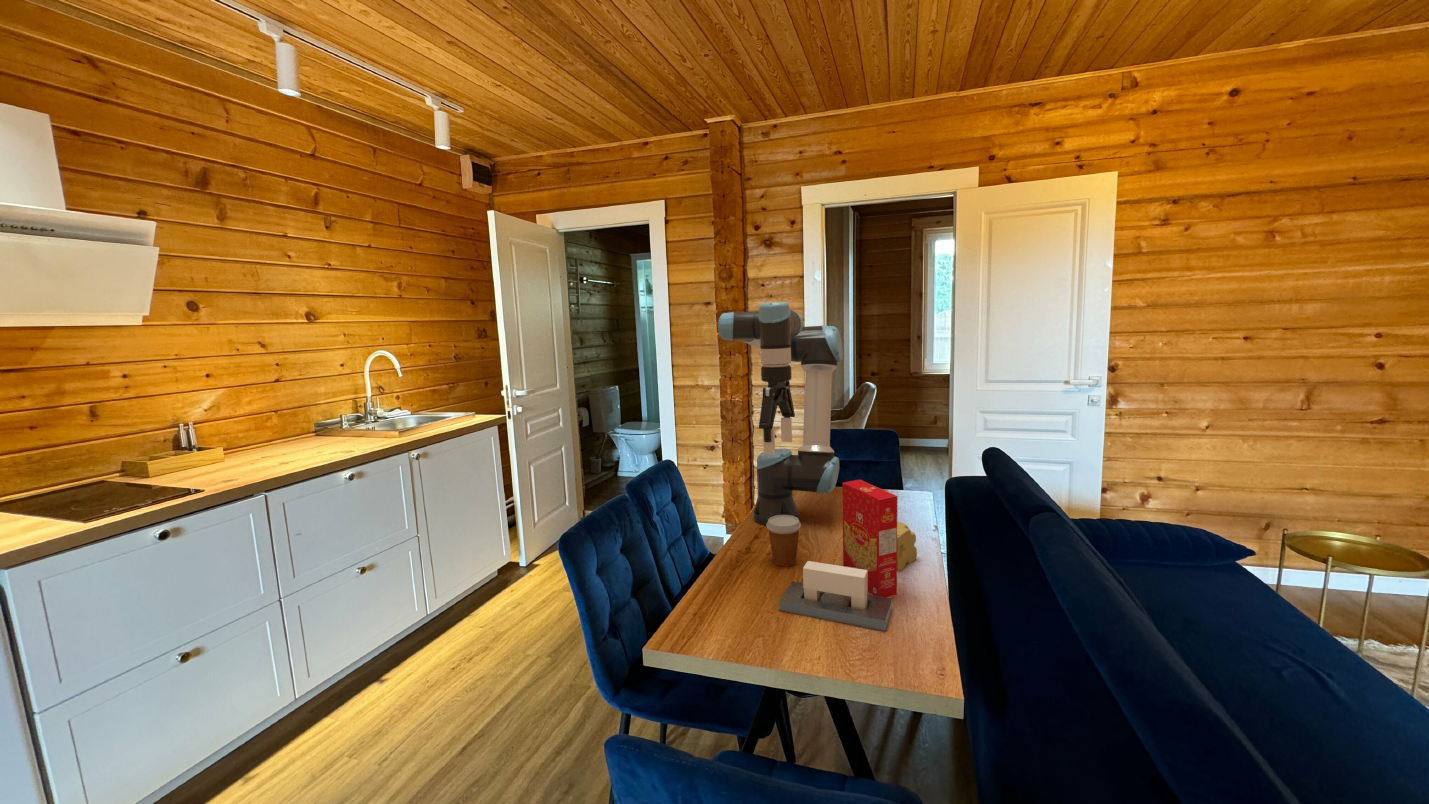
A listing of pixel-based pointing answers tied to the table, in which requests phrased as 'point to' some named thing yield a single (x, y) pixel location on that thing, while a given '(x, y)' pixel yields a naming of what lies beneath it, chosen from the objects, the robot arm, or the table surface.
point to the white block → (835, 582)
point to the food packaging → (871, 535)
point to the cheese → (905, 546)
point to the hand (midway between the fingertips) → (778, 447)
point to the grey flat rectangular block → (837, 608)
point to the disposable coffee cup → (784, 538)
